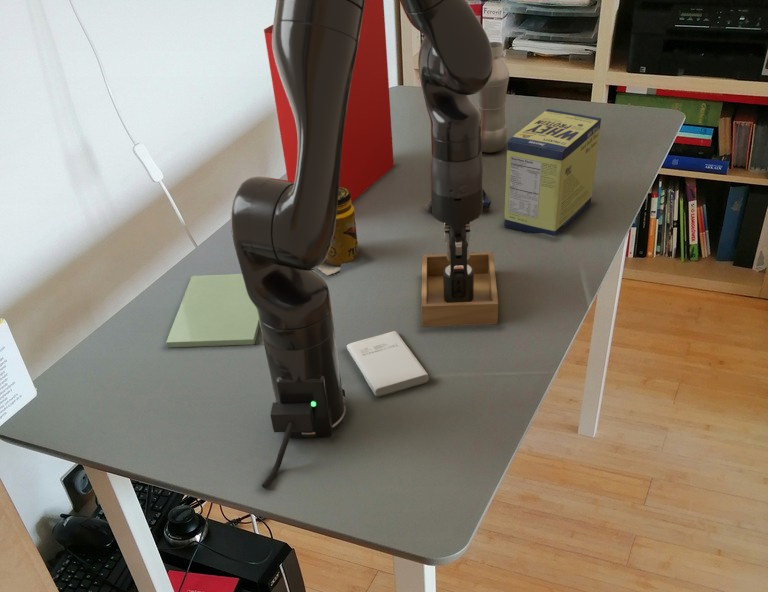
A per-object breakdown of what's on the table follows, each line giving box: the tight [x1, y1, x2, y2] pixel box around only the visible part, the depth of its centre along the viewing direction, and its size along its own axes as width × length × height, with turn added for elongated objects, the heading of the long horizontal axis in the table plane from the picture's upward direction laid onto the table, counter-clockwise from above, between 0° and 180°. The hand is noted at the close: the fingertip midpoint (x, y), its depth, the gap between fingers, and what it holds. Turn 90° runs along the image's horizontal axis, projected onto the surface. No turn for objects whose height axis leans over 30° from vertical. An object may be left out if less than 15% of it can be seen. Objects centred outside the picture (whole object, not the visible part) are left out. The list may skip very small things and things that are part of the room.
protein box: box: [503, 108, 602, 237], centre depth 144 cm, size 10×16×16 cm
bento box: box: [420, 251, 499, 327], centre depth 130 cm, size 16×12×4 cm
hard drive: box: [346, 330, 429, 398], centre depth 121 cm, size 2×8×12 cm
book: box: [263, 0, 395, 203], centre depth 151 cm, size 27×8×32 cm, turn 151°
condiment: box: [317, 187, 359, 276], centre depth 140 cm, size 7×8×12 cm
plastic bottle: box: [477, 41, 510, 153], centre depth 164 cm, size 6×7×20 cm
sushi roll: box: [443, 264, 474, 303], centre depth 130 cm, size 5×5×5 cm
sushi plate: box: [165, 273, 260, 348], centre depth 135 cm, size 20×14×1 cm
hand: (457, 281), depth 130 cm, fingers open, 8 cm apart
